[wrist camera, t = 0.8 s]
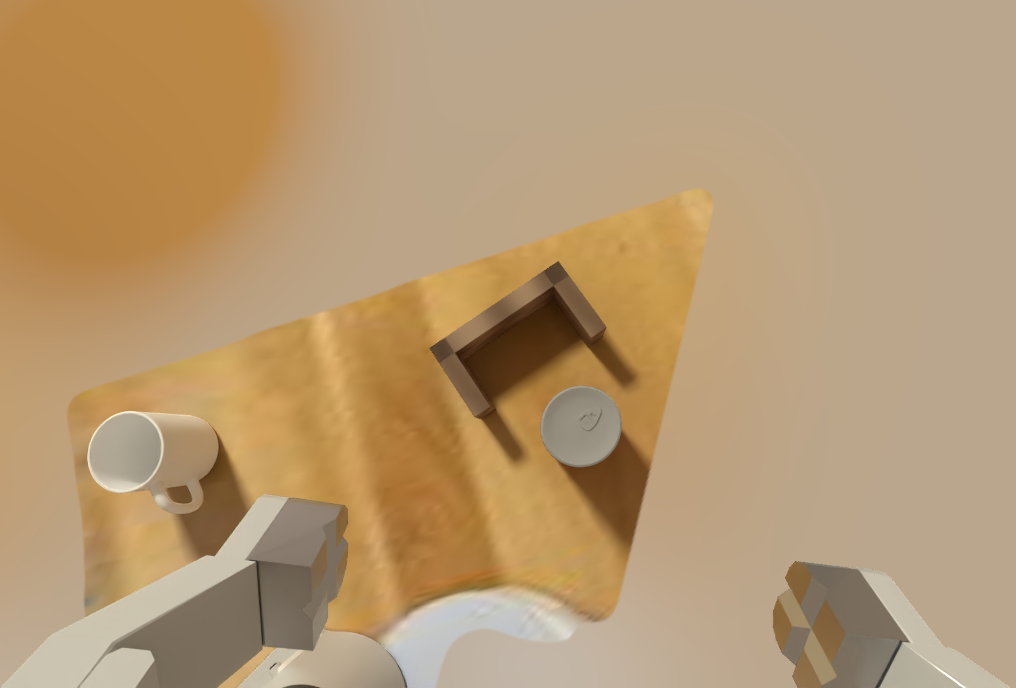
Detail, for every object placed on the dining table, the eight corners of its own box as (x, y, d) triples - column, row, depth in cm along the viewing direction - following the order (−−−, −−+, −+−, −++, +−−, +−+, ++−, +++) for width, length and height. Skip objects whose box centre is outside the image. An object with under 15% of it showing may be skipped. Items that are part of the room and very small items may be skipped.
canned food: (622, 413, 65) (636, 407, 54) (590, 476, 64) (598, 483, 53) (562, 381, 66) (564, 370, 55) (530, 443, 65) (526, 444, 54)
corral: (481, 419, 66) (474, 417, 60) (440, 356, 67) (429, 348, 61) (601, 337, 66) (606, 327, 60) (557, 276, 68) (558, 261, 62)
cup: (201, 402, 69) (142, 395, 59) (247, 487, 67) (193, 495, 57) (144, 439, 69) (74, 439, 59) (187, 526, 66) (123, 542, 56)
